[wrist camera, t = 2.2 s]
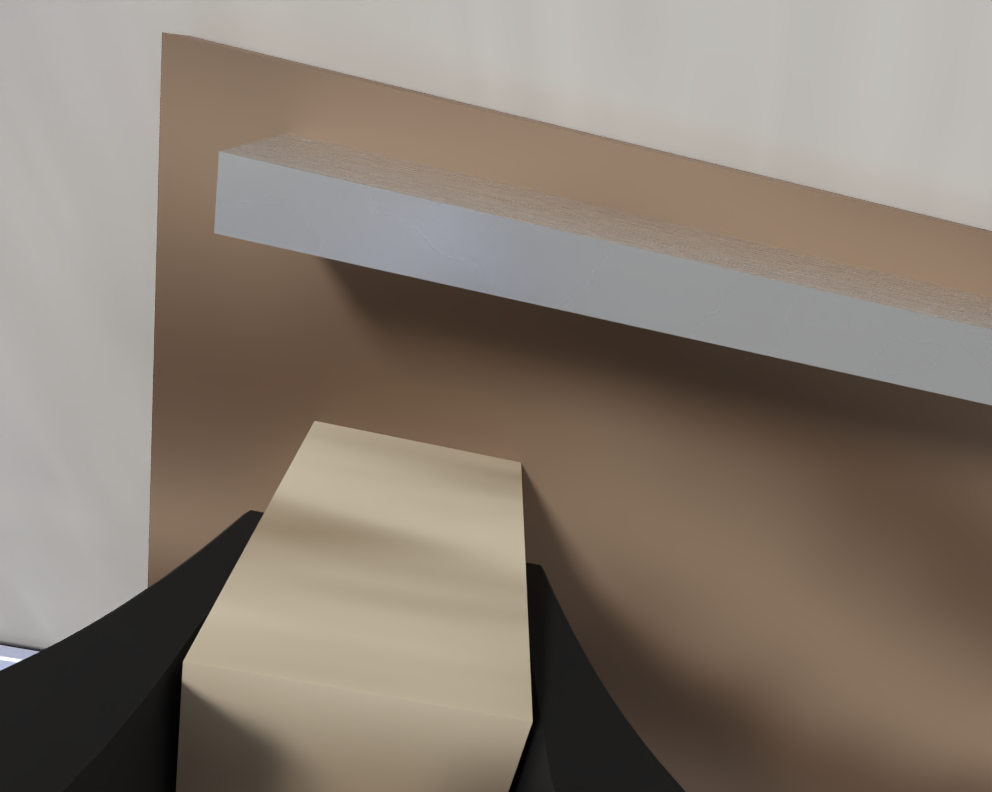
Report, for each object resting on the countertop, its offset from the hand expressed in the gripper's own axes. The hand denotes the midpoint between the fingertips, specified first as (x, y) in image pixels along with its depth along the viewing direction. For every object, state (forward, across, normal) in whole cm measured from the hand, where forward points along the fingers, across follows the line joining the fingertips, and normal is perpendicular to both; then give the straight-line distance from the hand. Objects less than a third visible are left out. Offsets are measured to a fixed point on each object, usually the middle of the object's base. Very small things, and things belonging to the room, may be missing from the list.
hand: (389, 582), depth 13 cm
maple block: (+2, 0, 0) cm, 2 cm away
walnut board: (+3, -7, +4) cm, 8 cm away
